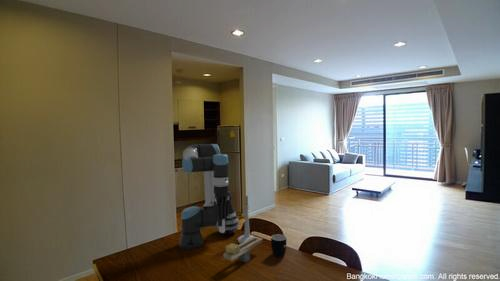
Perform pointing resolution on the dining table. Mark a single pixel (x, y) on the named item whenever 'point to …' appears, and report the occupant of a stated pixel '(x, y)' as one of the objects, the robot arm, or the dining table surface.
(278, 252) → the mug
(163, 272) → the dining table surface
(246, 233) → the candlestick
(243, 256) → the beam
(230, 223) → the vase
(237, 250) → the rider
